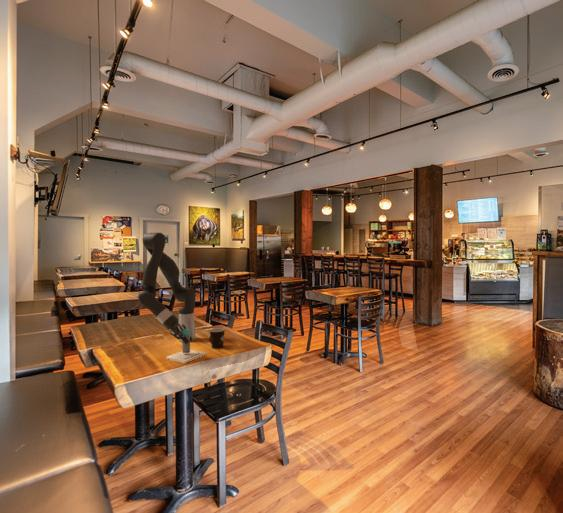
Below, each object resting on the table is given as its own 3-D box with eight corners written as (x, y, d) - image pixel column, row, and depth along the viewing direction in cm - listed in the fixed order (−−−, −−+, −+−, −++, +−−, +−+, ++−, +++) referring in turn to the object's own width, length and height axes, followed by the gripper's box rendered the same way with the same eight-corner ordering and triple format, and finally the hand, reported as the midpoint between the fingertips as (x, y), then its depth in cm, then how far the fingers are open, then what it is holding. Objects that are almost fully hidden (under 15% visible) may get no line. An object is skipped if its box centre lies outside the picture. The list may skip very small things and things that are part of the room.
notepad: (187, 351, 184) (187, 348, 184) (206, 355, 176) (206, 352, 176) (166, 359, 171) (166, 356, 171) (184, 363, 164) (184, 361, 164)
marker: (186, 350, 178) (186, 328, 178) (192, 351, 176) (191, 329, 175) (180, 352, 174) (180, 330, 174) (186, 353, 172) (185, 331, 172)
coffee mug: (219, 344, 197) (219, 327, 197) (227, 347, 191) (227, 330, 190) (202, 348, 189) (202, 331, 188) (210, 351, 183) (210, 333, 182)
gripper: (166, 316, 168) (189, 340, 167) (178, 311, 182) (199, 333, 181) (156, 326, 169) (179, 350, 168) (169, 320, 183) (190, 342, 182)
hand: (189, 341), depth 175 cm, fingers closed on marker, 4 cm apart
